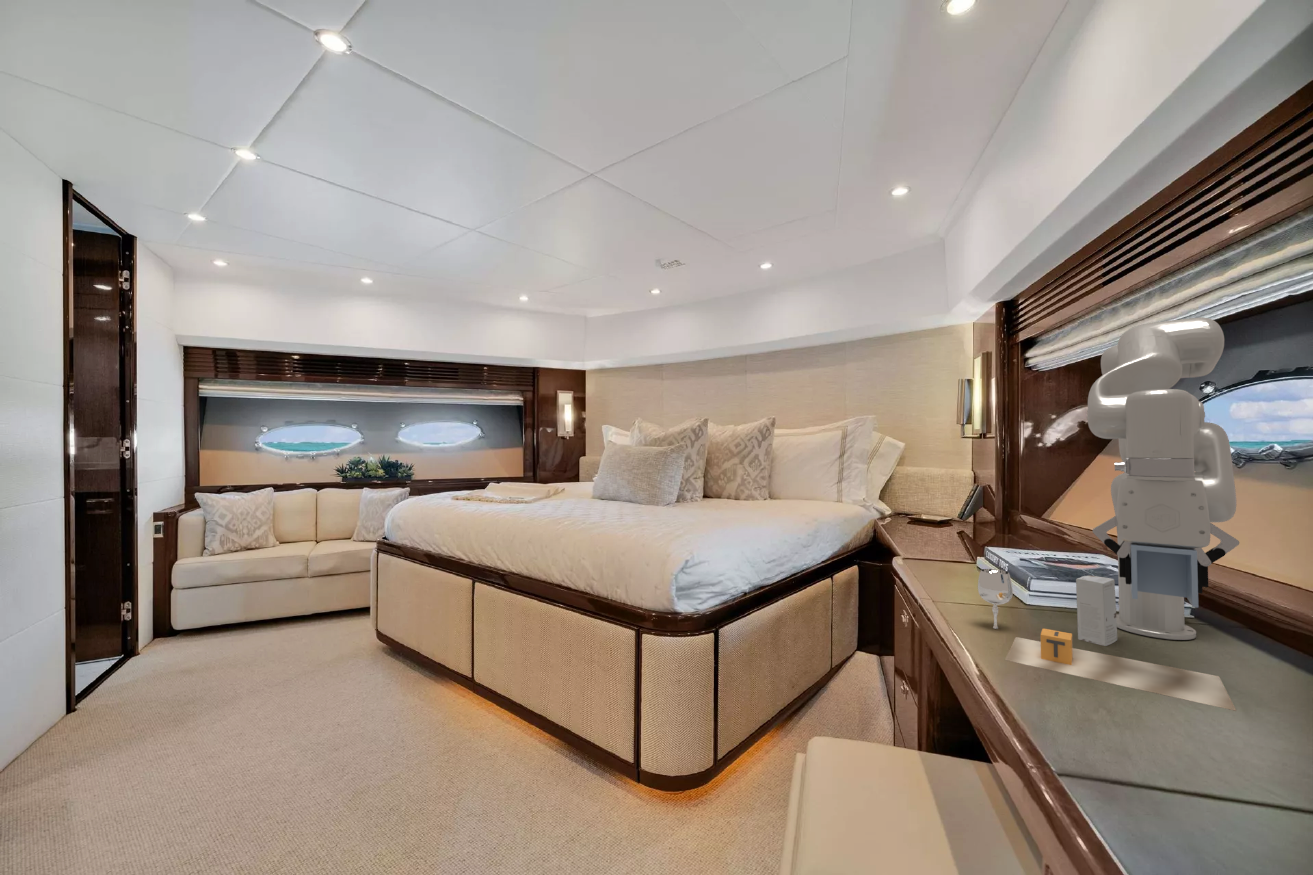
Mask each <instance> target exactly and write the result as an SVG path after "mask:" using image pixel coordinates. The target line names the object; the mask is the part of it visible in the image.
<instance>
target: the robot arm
mask: <svg viewBox="0 0 1313 875" xmlns="http://www.w3.org/2000/svg"><path fill="white" fill-rule="evenodd" d="M1224 348H1225V335H1224V331H1223V329H1222V327H1221V326H1220V324H1219V323H1218V322H1217V321H1215V320H1214V319H1212V318H1208V317H1202V316H1201V317H1192V318H1182V319H1175V320H1174V319H1173V320H1165V321H1155V322H1148V323H1147V322H1146V323H1141V324H1138V325H1136V326H1133V327H1131V328H1129V329H1127V330H1126V331H1124V332H1123V333H1122V335H1121V336H1120V337H1119V338H1118V342H1117V344H1116V345H1113V346H1110V347H1109V348H1107V349H1106V350H1104V351H1103V353H1102V354H1101V358H1100V369H1101V374H1102V375H1101V376H1100V377H1099V378H1097V379H1096V380H1095V382H1093V383H1092V385H1091V387H1090V390H1089V392H1088V397H1087V410H1086V411H1087V413H1086V414H1087V417H1086V419H1087V425H1088V428H1089V430H1090V432H1091V433H1092V434H1093V435H1094V436H1095V437H1098V438H1101V439H1105V440H1118V450H1119V456H1120V458H1121V461H1120V462H1117V461H1115V462H1114V472H1115V471H1118V472H1119V471H1120V472H1123V473H1121V474H1117V476H1115V477H1114V478H1113V480H1112V482H1111V485H1110V494H1111V500H1112V504H1113V510H1114V516H1113V517H1111V518H1110V519H1108V520H1105V521H1104V522H1103V523H1101V524H1098V525H1097V526H1096V527H1094V528H1093V529H1092V533H1093V534H1094V535H1095V536H1096V538H1098V539H1099V541H1101V542H1102V543H1103V544H1104V545H1105V547H1107V548H1108V549H1109V550H1111V551H1112V552H1113V553H1114V554H1115V555H1117V570H1118V571H1117V572H1118V573H1117V575H1118V576H1117V580H1118V602H1117V605H1118V613H1116V620H1117V629H1119V630H1122V631H1125V632H1128V633H1129V632H1130V633H1132V634H1136V635H1141V636H1145V637H1151V638H1157V639H1163V640H1172V641H1173V640H1174V641H1177V640H1178V641H1188V640H1194V639H1195V638H1197V630H1196V629H1194V628H1193V627H1191V626H1189V625H1187V624H1185V623H1186V622H1185V597H1178V596H1171V595H1163V594H1155V593H1148V592H1140V591H1137V592H1138V599H1132V595H1131V590H1130V584H1131V558H1130V551H1131V544H1136V543H1137V544H1148V545H1159V546H1171V547H1183V548H1189V549H1195V550H1196V551H1197V571H1198V594H1203V588H1209V566H1211V565H1213V563H1215V562H1217V561H1218V560H1220V559H1221V558H1223V557H1224V556H1226V555H1227V554H1228V553H1229V552H1230V551H1232V550H1234V549H1235V548H1236V547H1238V546H1239V545H1240V540H1238V539H1237V538H1236V537H1234V536H1232V535H1231V534H1229V533H1228V532H1226V531H1224V530H1222V529H1221V528H1220V527H1218V526H1216V525H1215V524H1213V523H1223V522H1228V521H1230V520H1231V519H1232V518H1233V517H1234V516H1235V514H1236V511H1237V493H1236V492H1237V491H1236V483H1235V474H1234V468H1233V466H1234V465H1233V458H1232V450H1231V446H1230V445H1231V444H1230V440H1229V436H1228V435H1227V432H1226V431H1225V429H1224V428H1223V427H1222V426H1221V425H1219V424H1218V423H1217V424H1216V423H1213V422H1208V421H1205V418H1206V413H1205V412H1206V411H1205V406H1204V404H1203V402H1202V401H1200V400H1199V399H1198V398H1197V397H1196V396H1195V395H1193V394H1191V393H1190V392H1189V391H1187V390H1184V389H1180V388H1179V389H1176V388H1173V387H1174V386H1176V384H1177V383H1178V382H1179V381H1180V380H1181V379H1186V378H1188V379H1190V378H1201V377H1204V376H1207V375H1208V374H1210V373H1212V371H1214V369H1215V367H1216V366H1217V363H1218V362H1219V360H1220V359H1221V356H1222V355H1223V351H1224ZM1172 388H1173V389H1172ZM1114 528H1116V533H1117V537H1116V538H1117V542H1116V541H1115V540H1114V539H1113V538H1111V537H1110V536H1109V534H1108V531H1111V530H1112V529H1114ZM1211 535H1213V537H1216V538H1217V539H1219V540H1220V543H1218V544H1217V545H1216V546H1215V547H1214V546H1213V548H1211V549H1209V550H1208V551H1206V552H1205V551H1204V549H1203V548H1206V547H1208V546H1209V545H1210V543H1211Z"/></svg>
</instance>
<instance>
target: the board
mask: <svg viewBox="0 0 1313 875" xmlns="http://www.w3.org/2000/svg"><path fill="white" fill-rule="evenodd" d="M1072 652H1073V658H1072V665H1069V664H1064V663H1059V662H1054V661H1050V660H1045V659H1041V641H1039V640H1034V639H1033V640H1032V639H1029V638H1023V637H1018V636H1016V637H1015V638H1014V639H1013V642H1012V644H1011V647H1010V648H1009V650H1008V653H1007V654H1006V656H1005V659H1004V661H1007V662H1012V663H1017V664H1021V665H1026V666H1029V667H1035V668H1038V669H1044V670H1047V671H1053V672H1057V673H1062V674H1065V675H1071V676H1075V677H1078V678H1084V679H1088V680H1094V681H1098V682H1101V683H1102V682H1103V683H1107V684H1111V685H1117V686H1121V687H1124V688H1125V687H1126V688H1131V689H1135V690H1138V691H1143V692H1148V693H1152V694H1156V695H1157V694H1158V695H1162V696H1166V697H1171V698H1175V699H1179V700H1185V701H1190V702H1194V703H1198V704H1203V705H1207V706H1212V707H1215V708H1221V709H1225V710H1231V711H1235V712H1237V709H1236V707H1235V705H1234V703H1233V701H1232V698H1231V697H1230V695H1229V693H1228V691H1227V689H1226V687H1225V686H1224V683H1223V681H1222V679H1221V678H1220V676H1219V675H1214V674H1209V673H1205V672H1204V673H1203V672H1198V671H1194V670H1188V669H1183V668H1177V667H1173V666H1168V665H1163V664H1158V663H1157V664H1156V663H1152V662H1147V661H1143V660H1142V661H1141V660H1137V659H1131V658H1126V657H1121V656H1117V655H1116V656H1115V655H1110V654H1105V653H1100V652H1096V651H1089V650H1085V649H1079V648H1074V647H1072Z"/></svg>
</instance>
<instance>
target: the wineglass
mask: <svg viewBox="0 0 1313 875" xmlns="http://www.w3.org/2000/svg"><path fill="white" fill-rule="evenodd" d="M977 581H978V582H977V591H978V594H979V597H980V598H981V599H983V600H984V601H985V602H988V603H989V604H992V605H993V606H992V613H993V627H992V628H993V629H996V630H998V629H999V626H998V614H999V607H998V606H999V605H1004V604H1006V603H1009V602H1010V601H1011V600H1012V597H1013V594H1014V590H1013V583H1012V579H1011V575H1010V572H1008V571H1005V570H1002V569H995V568H982V569H980V572H979V575H978V580H977Z"/></svg>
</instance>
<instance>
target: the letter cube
mask: <svg viewBox="0 0 1313 875" xmlns="http://www.w3.org/2000/svg"><path fill="white" fill-rule="evenodd" d="M1040 642H1041V659H1045V660H1050V661H1054V662H1059V663H1064V664H1069V665H1072V658H1073V652H1072V648H1073V633H1071V632H1064V631H1059V630H1055V629H1049V628H1042V629H1041V632H1040Z"/></svg>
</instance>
